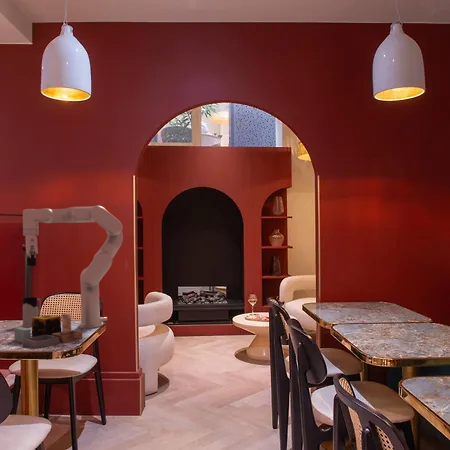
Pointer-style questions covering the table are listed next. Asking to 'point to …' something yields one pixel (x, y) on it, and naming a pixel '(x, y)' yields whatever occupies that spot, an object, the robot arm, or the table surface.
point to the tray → (41, 341)
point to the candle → (46, 325)
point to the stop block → (21, 334)
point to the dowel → (66, 324)
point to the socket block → (68, 336)
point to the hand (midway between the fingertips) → (31, 265)
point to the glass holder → (30, 310)
